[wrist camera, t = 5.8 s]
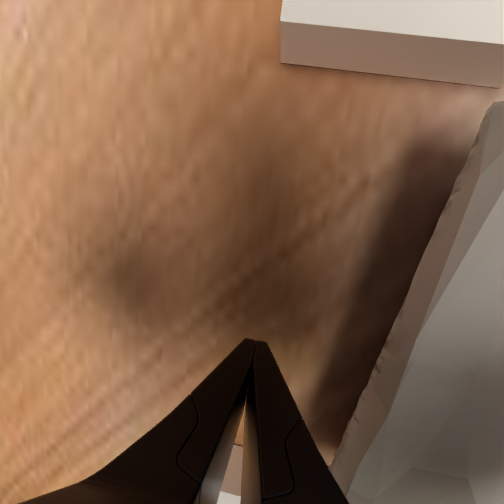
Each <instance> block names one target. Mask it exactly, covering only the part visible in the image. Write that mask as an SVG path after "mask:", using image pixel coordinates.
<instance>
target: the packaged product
mask: <svg viewBox="0 0 504 504" xmlns="http://www.w3.org/2000/svg"><path fill="white" fill-rule="evenodd" d="M381 351H382V352H381V354H380V355H379V357H378V359H377V362H376V364H375V366H374V368H373V371H372V374H371V375H370V377H369V381H368V384H367V386H366V387H365V389H364V390H363V392H362V394H361V395H360V397H359V401H358V403H357V407H356V409H355V411H354V412H353V414H352V417H351V420H349V421H348V423H347V428H346V430H345V432H344V434H343V438H342V441H341V444H340V446H339V447H338V450H337V452H336V453H335V455H334V459H333V462H332V464H331V466H330V469H329V470H330V472H331V473H332V475H333V477H334V478H335V480H336V482H337V483H338V485H339V487H340V488H341V490H342V492H343V493H344V495H345V497H346V498H347V500H348V502H349V503H350V504H504V101H501V102H494V103H493V104H492V105H491V106H490V108H489V109H488V110H487V112H486V114H485V116H484V118H483V121H482V123H481V125H480V128H479V131H478V134H477V137H476V140H475V142H474V145H473V147H472V149H471V151H470V153H469V156H468V158H467V160H466V163H465V165H464V168H463V169H462V171H461V172H460V174H459V175H458V177H457V179H456V181H455V184H454V187H453V190H452V193H451V195H450V197H449V199H448V201H447V203H446V205H445V207H444V209H443V211H442V213H441V215H440V218H439V220H438V223H437V225H436V228H435V230H434V233H433V235H432V237H431V239H430V241H429V243H428V245H427V247H426V249H425V252H424V254H423V256H422V259H421V261H420V263H419V266H418V268H417V270H416V273H415V275H414V277H413V280H412V283H411V286H410V289H409V292H408V294H407V296H406V297H405V300H404V302H403V305H402V307H401V309H400V311H399V313H398V315H397V317H396V319H395V321H394V324H393V326H392V329H391V331H390V332H389V335H388V337H387V339H386V342H385V344H384V347H383V349H382V350H381Z"/></svg>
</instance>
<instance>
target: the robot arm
mask: <svg viewBox="0 0 504 504" xmlns="http://www.w3.org/2000/svg"><path fill="white" fill-rule="evenodd" d="M255 343H256V344H255ZM254 349H255V350H254ZM253 355H254V356H253ZM252 361H253V362H252ZM251 367H252V368H251ZM250 373H251V374H250ZM249 379H250V380H249ZM248 385H249V386H248ZM247 391H248V392H247ZM246 397H247V398H246ZM245 402H246V405H245ZM244 406H245V421H244V441H243V461H242V480H241V500H240V504H350V503H349V502H348V500H347V498H346V497H345V495H344V493H343V492H342V490H341V488H340V487H339V485H338V483H337V482H336V480H335V478H334V477H333V475H332V473H331V472H330V470H329V468H328V466H327V465H326V463H325V461H324V459H323V458H322V456H321V454H320V452H319V451H318V449H317V447H316V445H315V443H314V441H313V439H312V437H311V435H310V433H309V431H308V429H307V427H306V424H305V422H304V420H303V419H302V416H301V414H300V412H299V410H298V408H297V405H296V403H295V401H294V399H293V397H292V395H291V393H290V390H289V388H288V386H287V384H286V382H285V380H284V378H283V376H282V373H281V371H280V369H279V367H278V365H277V363H276V361H275V358H274V356H273V354H272V352H271V350H270V348H269V346H268V344H267V342H263V341H258V340H257V341H255V340H253V339H248V338H245V339H244V340H243V341H242V342H241V343H240V344H239V345H238V346H237V347H236V348H235V349H234V350H233V351H232V352H231V353H230V354H229V355H228V356H227V357H226V358H225V359H224V360H223V361H222V362H221V363H220V364H219V365H218V366H217V367H216V368H215V369H214V370H213V371H212V372H211V373H210V374H209V375H208V376H207V377H206V378H205V379H204V380H203V381H202V382H201V383H200V384H199V385H198V386H197V387H196V388H195V389H194V390H193V391H192V392H191V395H190V394H189V395H188V396H187V397H186V398H185V399H184V400H183V401H182V402H181V403H180V404H179V405H178V406H177V407H176V408H175V409H174V410H173V411H172V412H171V413H170V414H169V415H168V416H166V417H165V418H164V419H163V420H162V421H160V422H159V423H158V424H157V425H156V426H154V427H153V428H152V429H151V430H150V431H148V432H147V433H146V434H145V435H143V436H142V437H141V438H140V439H138V440H137V441H136V442H135V443H134V444H132V445H131V446H130V447H129V448H127V449H126V450H125V451H124V452H122V453H121V454H120V455H119V456H117V457H116V458H115V459H114V460H112V461H111V462H110V463H109V464H107V465H106V466H105V467H103V468H102V469H101V470H99V471H98V472H96V473H95V474H93V475H91V476H90V477H88V478H86V479H84V480H82V481H80V482H78V483H76V484H73V485H70V486H67V487H64V488H62V489H59V490H56V491H53V492H50V493H47V494H44V495H41V496H38V497H36V498H33V499H30V500H27V501H24V502H21V503H18V504H217V500H218V497H219V493H220V490H221V487H222V483H223V480H224V476H225V473H226V469H227V466H228V462H229V459H230V455H231V452H232V448H233V445H234V442H235V438H236V435H237V431H238V428H239V424H240V421H241V417H242V414H243V410H244Z"/></svg>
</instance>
